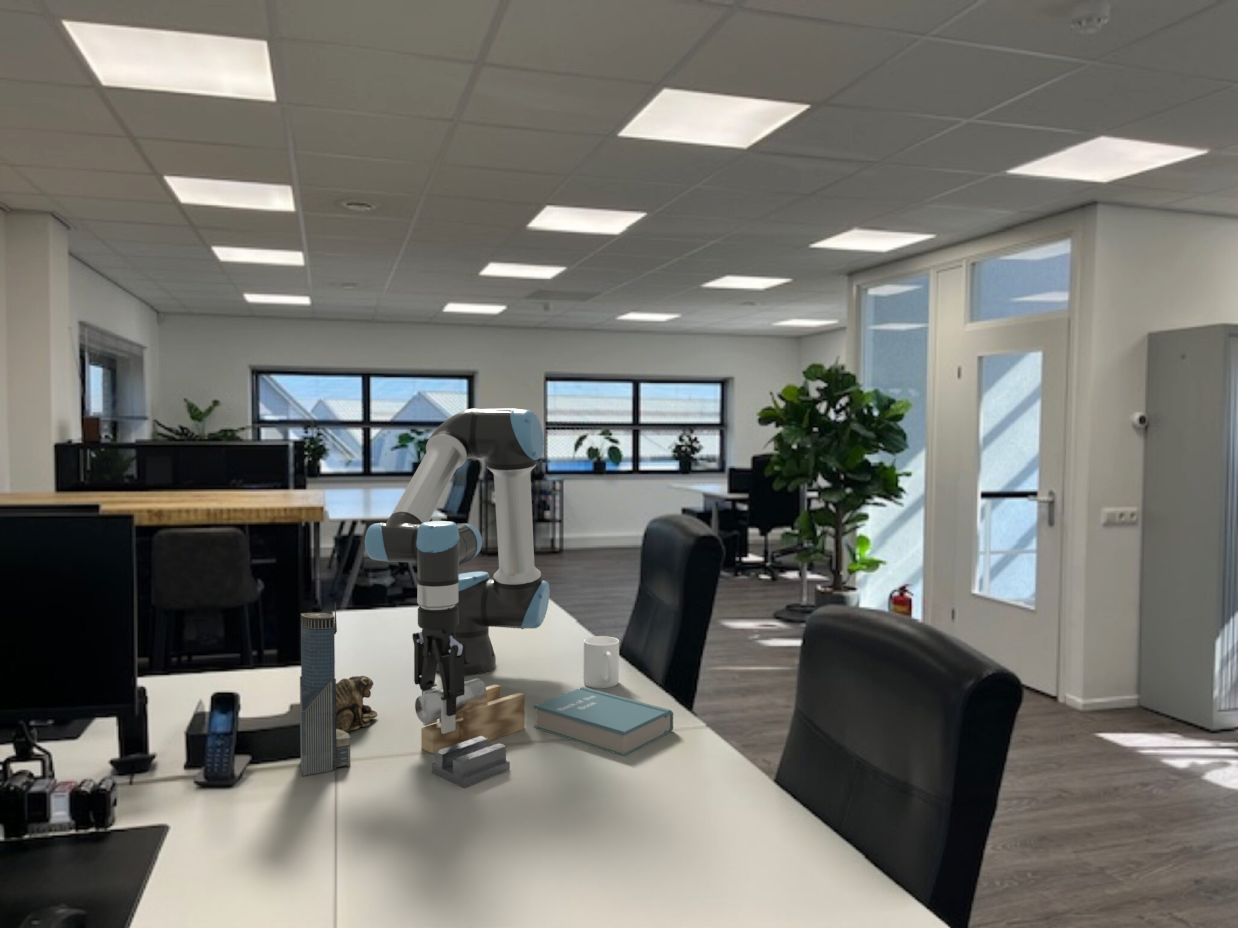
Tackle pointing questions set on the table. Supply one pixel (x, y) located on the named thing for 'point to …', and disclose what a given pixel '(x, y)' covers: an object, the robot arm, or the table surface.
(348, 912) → the table surface
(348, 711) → the figurine
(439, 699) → the axle
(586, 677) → the cup
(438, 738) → the beam
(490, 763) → the v block
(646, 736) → the book
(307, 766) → the building
